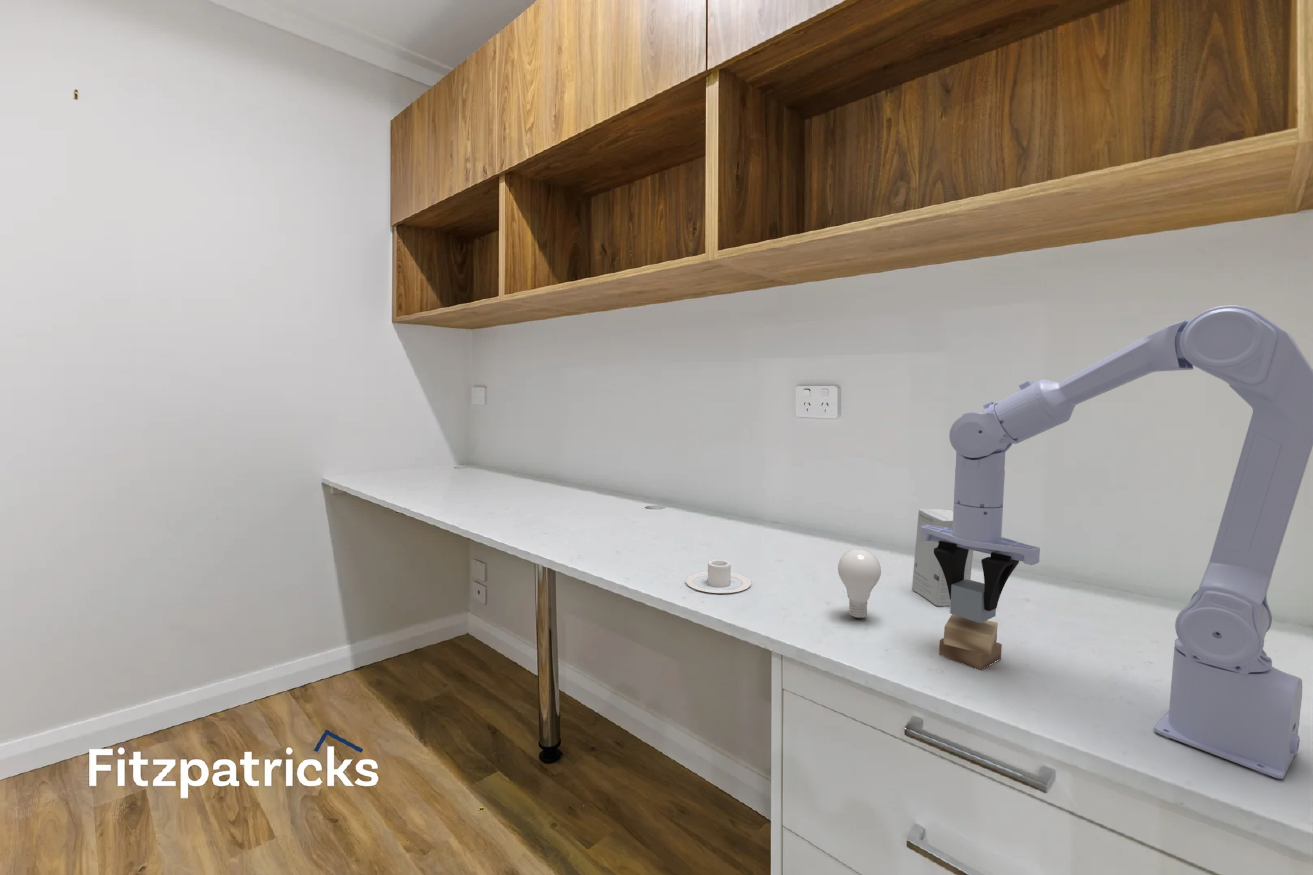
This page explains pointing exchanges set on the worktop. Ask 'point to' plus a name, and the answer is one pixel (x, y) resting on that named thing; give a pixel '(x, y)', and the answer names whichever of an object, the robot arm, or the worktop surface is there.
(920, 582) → the skincare box
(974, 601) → the cube
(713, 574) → the candle holder
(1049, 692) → the worktop surface
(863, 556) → the lightbulb
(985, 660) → the lower tile
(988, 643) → the upper tile
